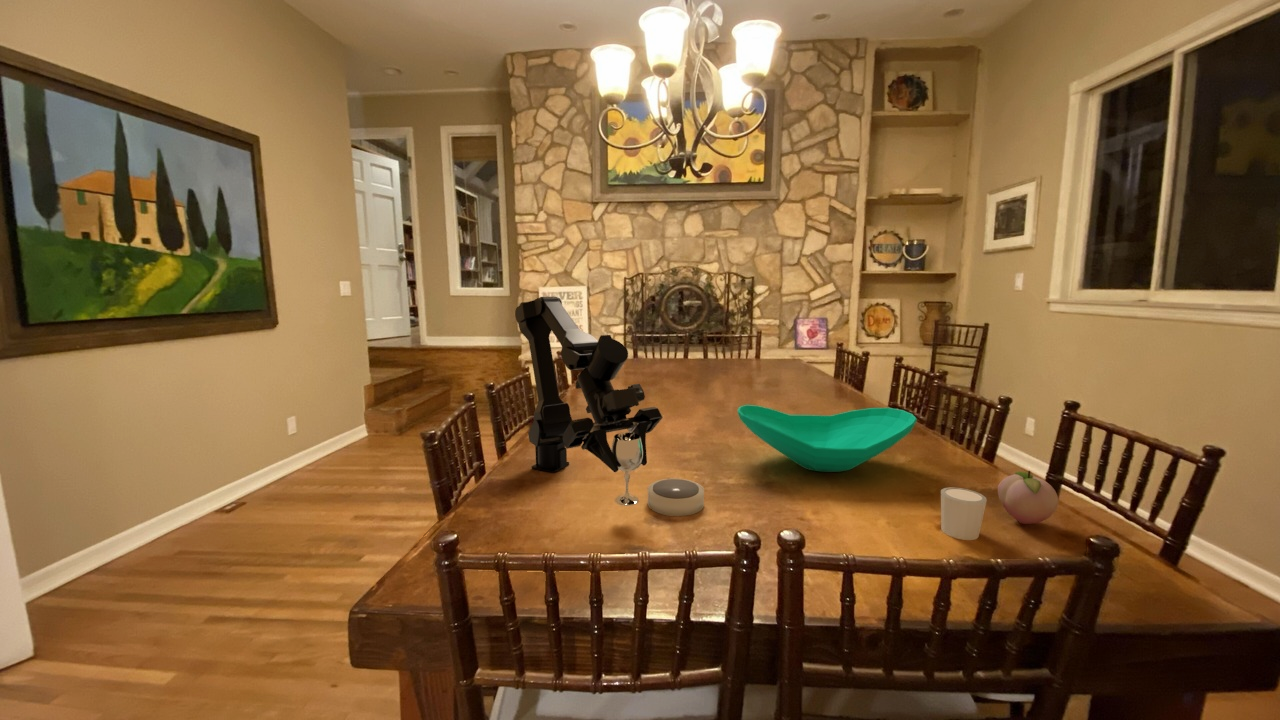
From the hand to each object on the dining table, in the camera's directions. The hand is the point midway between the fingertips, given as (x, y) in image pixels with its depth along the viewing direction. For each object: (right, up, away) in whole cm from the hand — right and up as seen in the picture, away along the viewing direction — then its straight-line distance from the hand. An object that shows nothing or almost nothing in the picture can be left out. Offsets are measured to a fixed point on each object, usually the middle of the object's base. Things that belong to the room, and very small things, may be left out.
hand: (631, 467), depth 93 cm
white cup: (+57, -11, -1) cm, 59 cm away
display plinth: (+9, -9, +10) cm, 16 cm away
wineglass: (-1, -7, +2) cm, 7 cm away
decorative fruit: (+71, -11, +2) cm, 72 cm away
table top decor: (+44, -6, +31) cm, 54 cm away
